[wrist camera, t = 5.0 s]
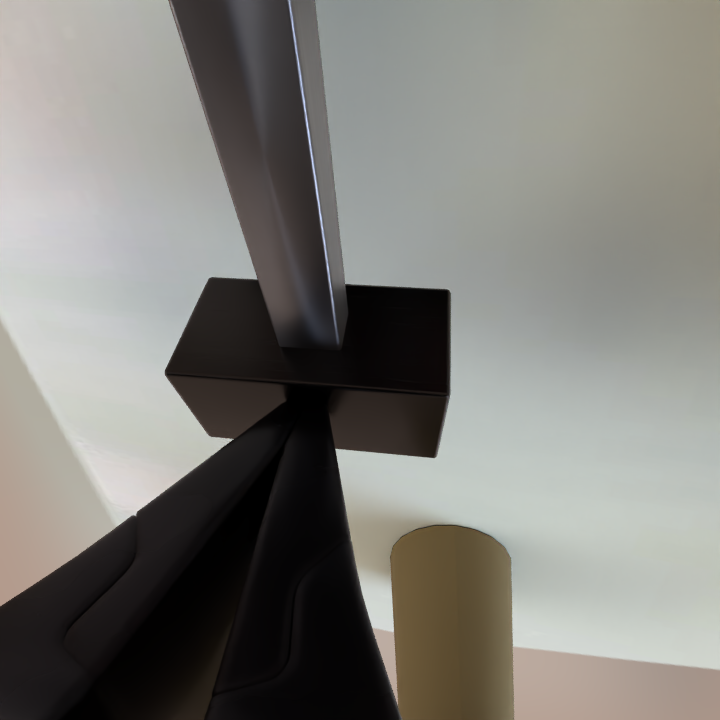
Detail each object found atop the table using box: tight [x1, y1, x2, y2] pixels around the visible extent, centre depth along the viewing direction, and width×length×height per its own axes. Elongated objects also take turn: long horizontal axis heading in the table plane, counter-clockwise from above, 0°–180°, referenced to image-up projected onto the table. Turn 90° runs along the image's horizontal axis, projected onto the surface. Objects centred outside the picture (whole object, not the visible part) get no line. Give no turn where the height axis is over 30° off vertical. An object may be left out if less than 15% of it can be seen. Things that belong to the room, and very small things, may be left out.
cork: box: [390, 526, 514, 720], centre depth 18 cm, size 6×6×11 cm
